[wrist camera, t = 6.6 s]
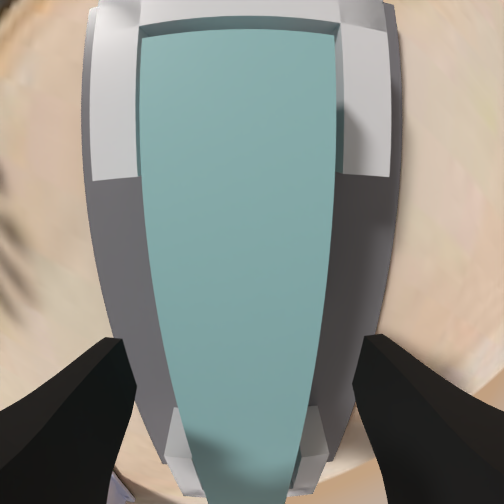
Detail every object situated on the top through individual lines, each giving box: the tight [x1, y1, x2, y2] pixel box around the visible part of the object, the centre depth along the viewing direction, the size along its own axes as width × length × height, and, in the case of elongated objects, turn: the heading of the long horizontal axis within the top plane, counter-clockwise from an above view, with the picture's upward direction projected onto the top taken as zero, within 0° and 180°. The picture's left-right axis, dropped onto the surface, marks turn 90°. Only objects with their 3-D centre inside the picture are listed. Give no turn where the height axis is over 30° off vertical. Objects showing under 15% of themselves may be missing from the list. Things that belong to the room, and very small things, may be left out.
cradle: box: [81, 0, 402, 498], centre depth 10 cm, size 24×11×4 cm, turn 0°
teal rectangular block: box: [139, 29, 336, 504], centre depth 9 cm, size 16×3×5 cm, turn 0°
